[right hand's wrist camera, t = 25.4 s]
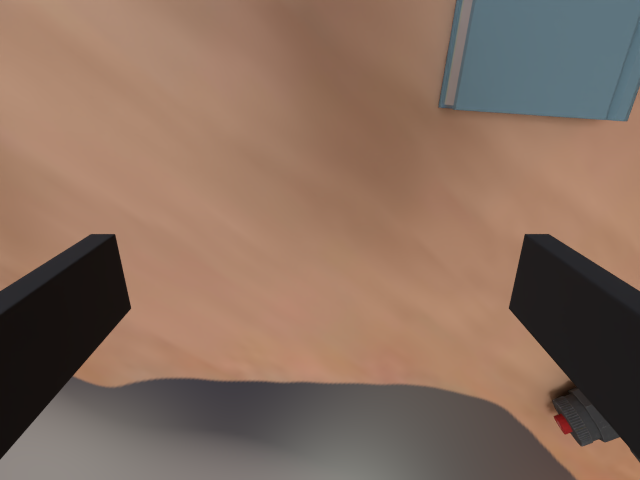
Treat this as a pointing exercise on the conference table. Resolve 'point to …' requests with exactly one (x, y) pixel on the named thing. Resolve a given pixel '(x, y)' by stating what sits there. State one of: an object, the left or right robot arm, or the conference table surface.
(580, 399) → the laser sight
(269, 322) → the conference table surface
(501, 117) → the conference table surface
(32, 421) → the right robot arm
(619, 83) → the book
